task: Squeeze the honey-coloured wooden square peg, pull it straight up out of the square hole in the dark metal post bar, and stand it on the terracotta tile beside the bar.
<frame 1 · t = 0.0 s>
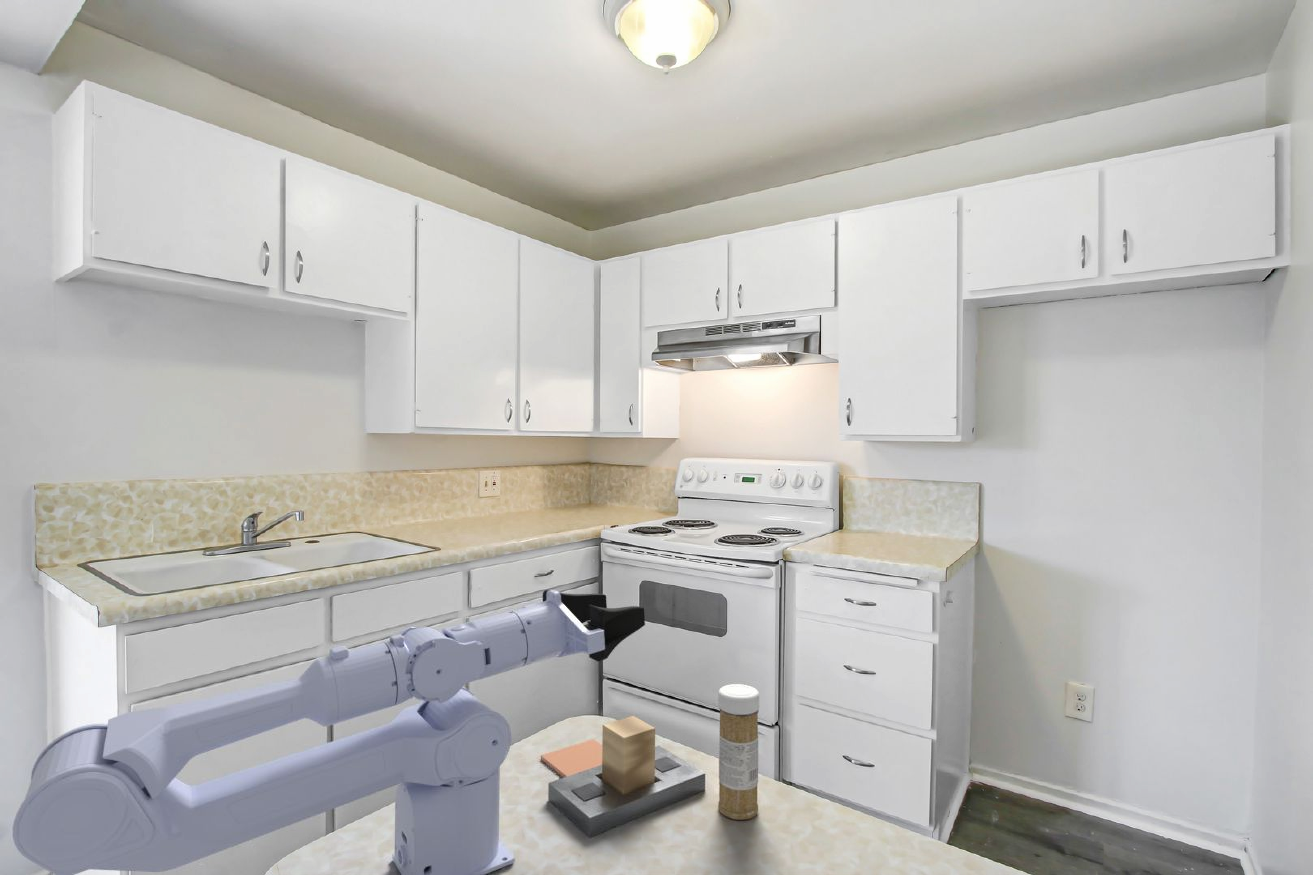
hand: (623, 609, 77), 22 cm above the countertop, tool horizontal, fingers open, 7 cm apart
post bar: (628, 794, 77), on the countertop
wooden peg: (628, 795, 77), resting in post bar
sprinkles bottle: (737, 812, 74), on the countertop
tile: (583, 762, 85), on the countertop
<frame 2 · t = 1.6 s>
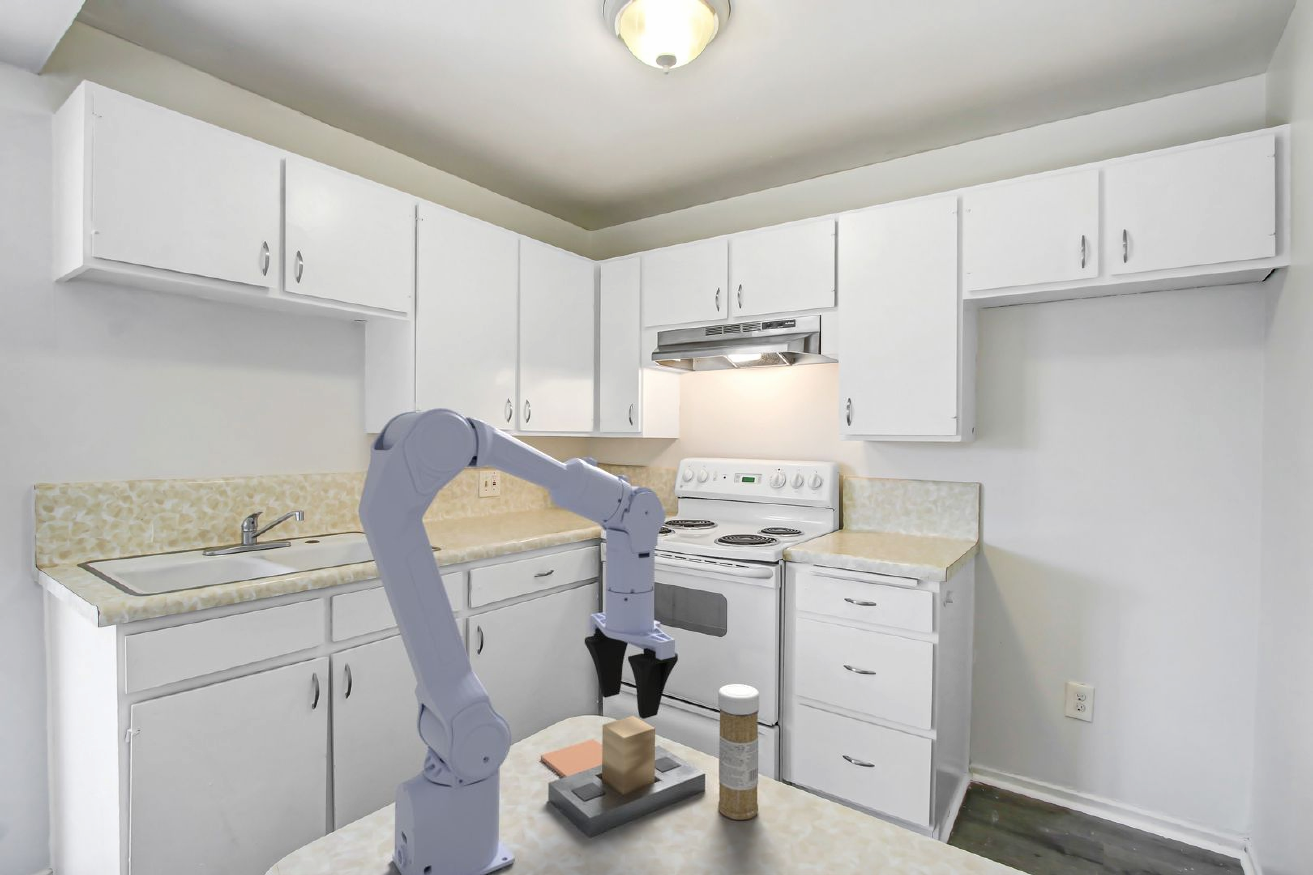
hand: (628, 705, 77), 10 cm above the countertop, tool pointing down, fingers open, 7 cm apart
nothing on the countertop moved.
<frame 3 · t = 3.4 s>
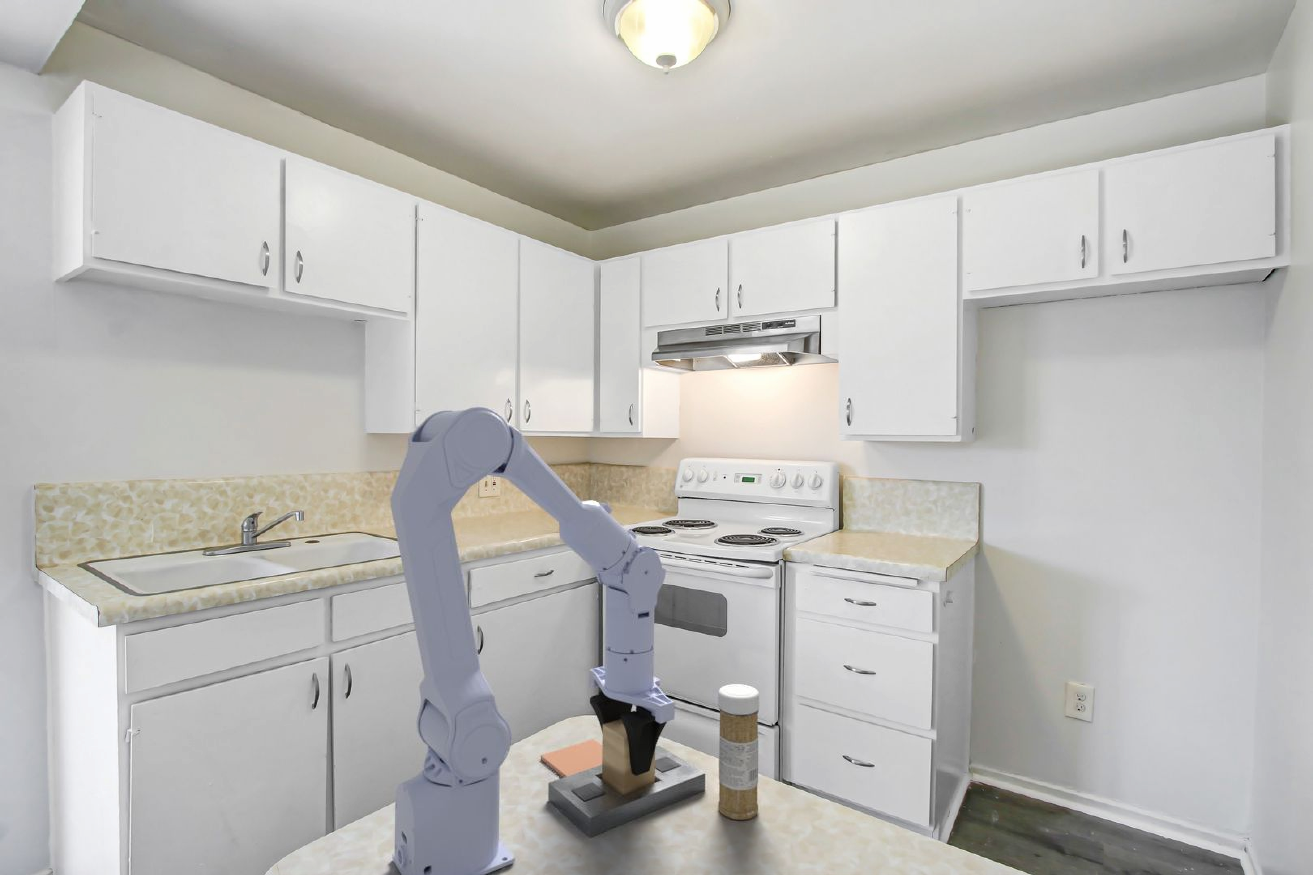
hand: (628, 763, 77), 4 cm above the countertop, tool pointing down, fingers closed on wooden peg, 4 cm apart
wooden peg: (628, 795, 77), resting in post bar, touching gripper
everything else where it was.
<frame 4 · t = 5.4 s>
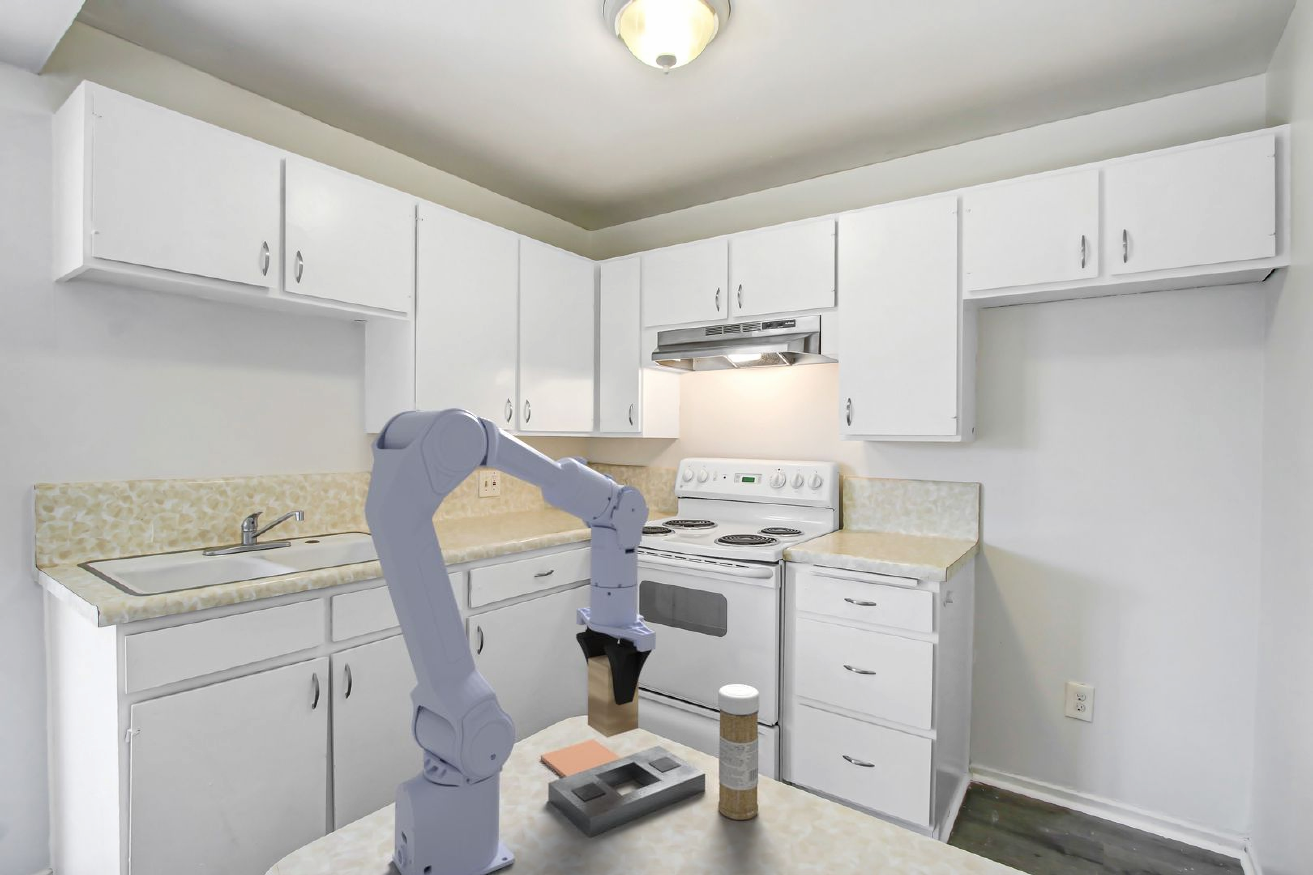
hand: (612, 696, 80), 10 cm above the countertop, tool pointing down, fingers closed on wooden peg, 4 cm apart
wooden peg: (612, 726, 80), point 7 cm above the countertop, touching gripper
everything else where it was.
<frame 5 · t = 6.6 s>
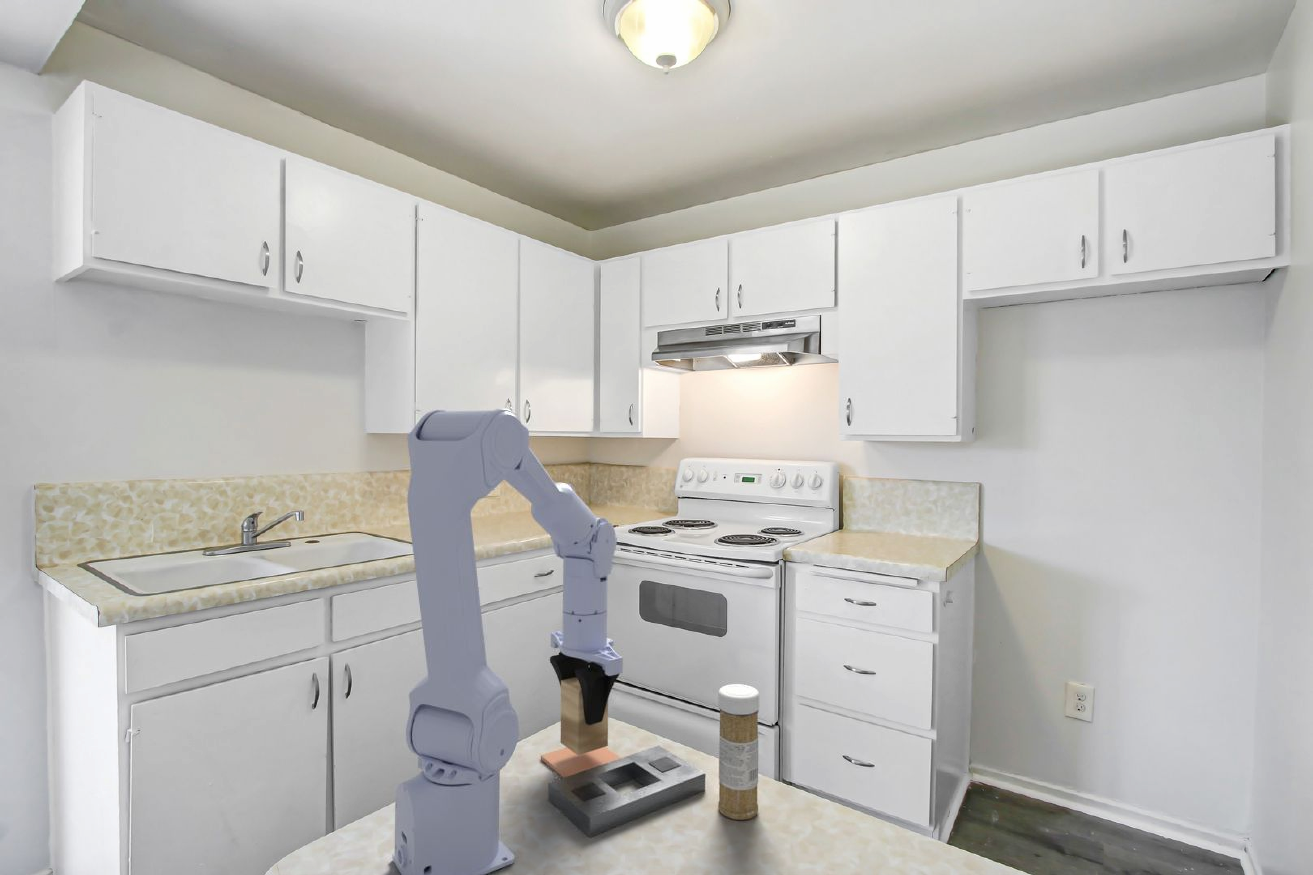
hand: (583, 715, 85), 6 cm above the countertop, tool pointing down, fingers closed on wooden peg, 4 cm apart
wooden peg: (584, 744, 85), point 2 cm above the countertop, touching gripper
everything else where it was.
when the fingers open (5 cm above the countertop, at t = 7.6 s): wooden peg drops 1 cm, resting on tile.
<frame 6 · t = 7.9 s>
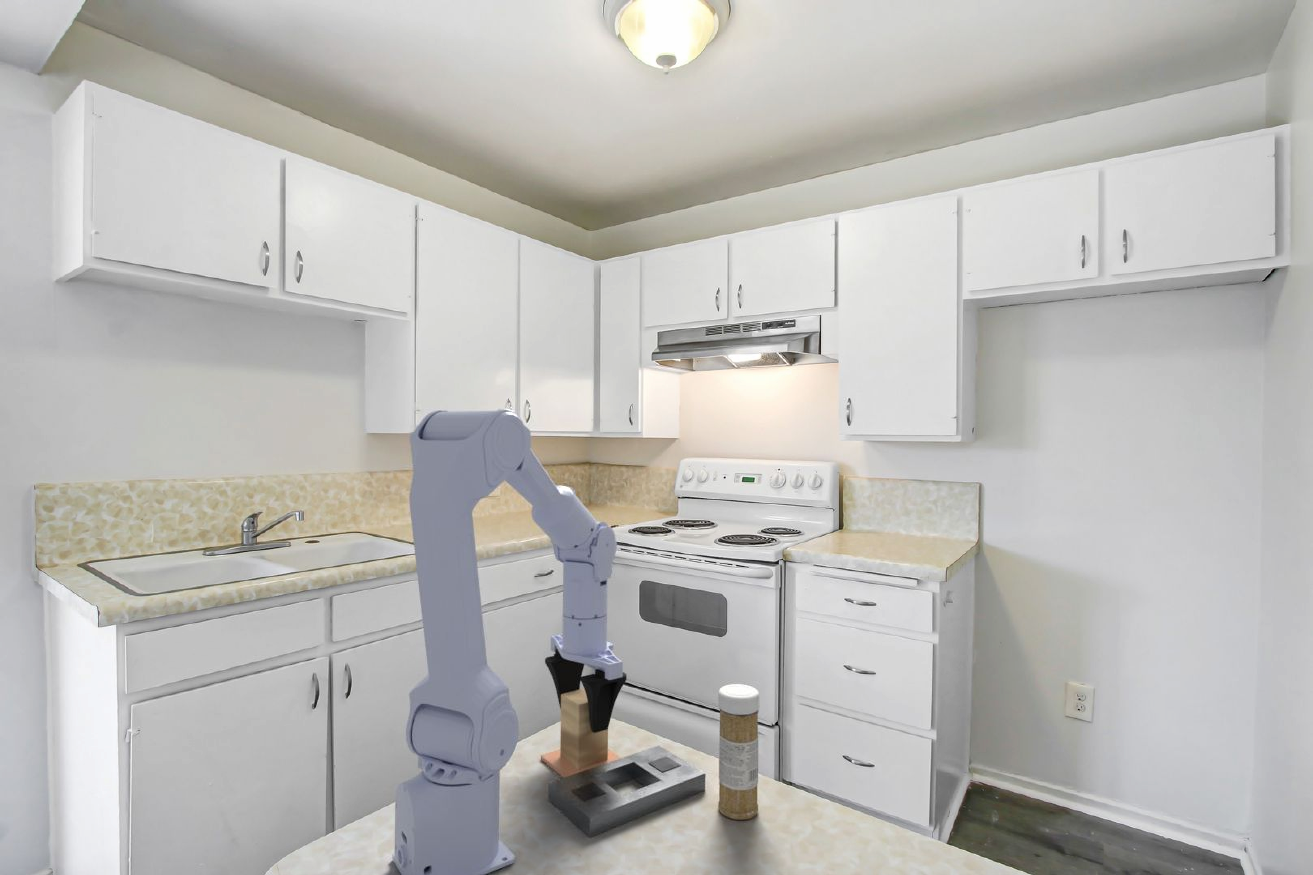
hand: (583, 719, 85), 5 cm above the countertop, tool pointing down, fingers open, 7 cm apart
wooden peg: (583, 757, 85), resting on tile
everything else where it was.
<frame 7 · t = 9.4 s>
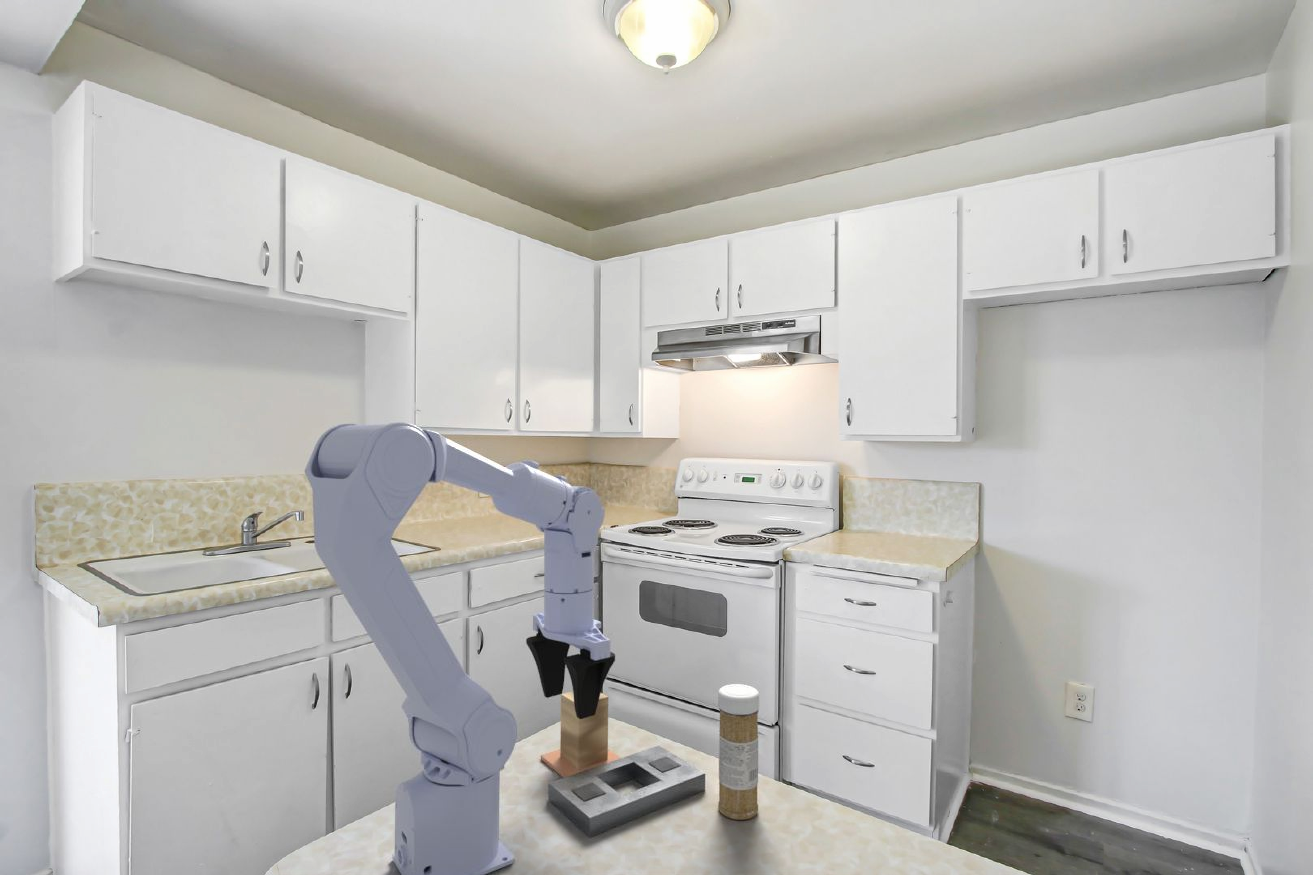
hand: (569, 705, 77), 10 cm above the countertop, tool pointing down, fingers open, 7 cm apart
nothing on the countertop moved.
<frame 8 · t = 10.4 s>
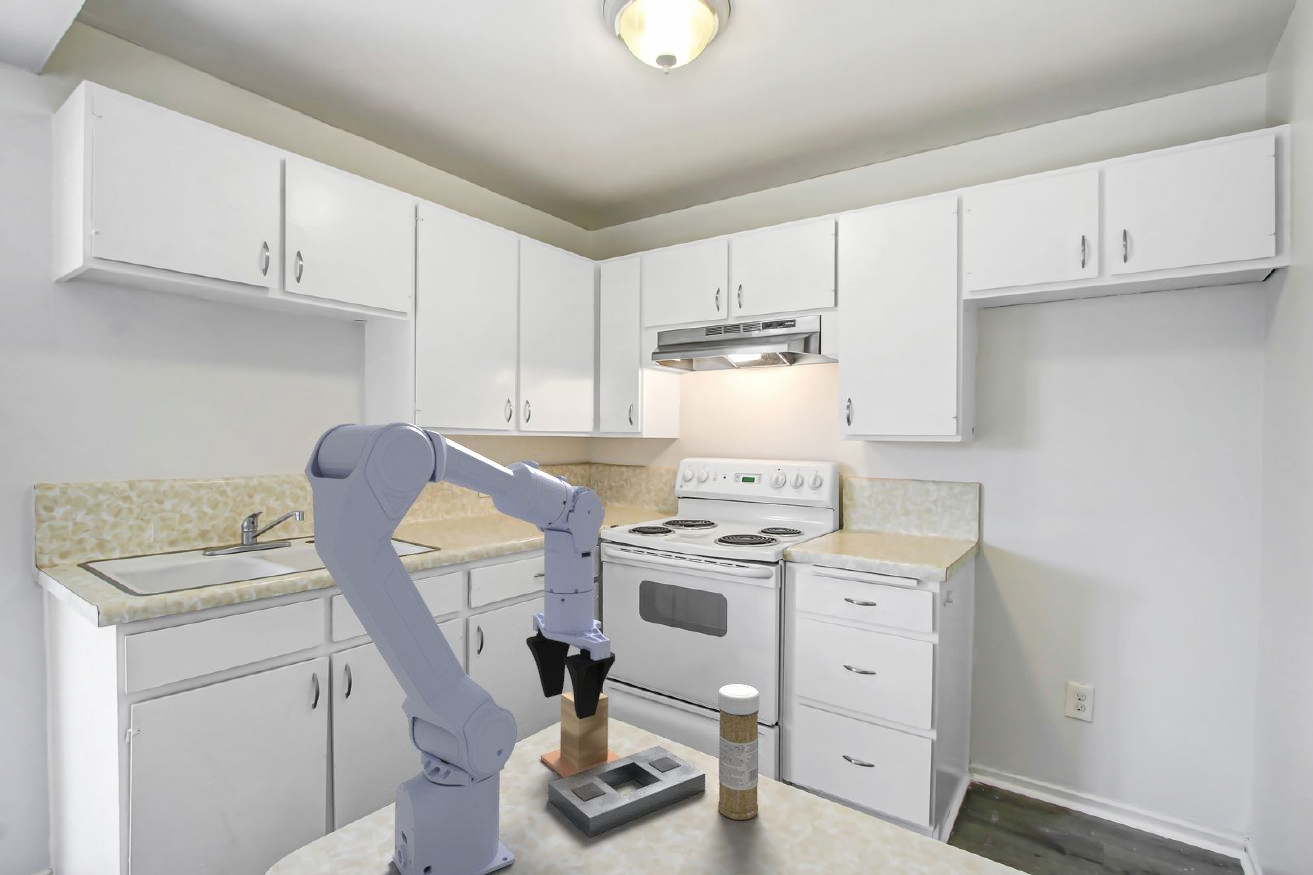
hand: (569, 705, 77), 10 cm above the countertop, tool pointing down, fingers open, 7 cm apart
nothing on the countertop moved.
at the end: wooden peg 0.1 cm off-centre on the tile, point 0.5 cm above the tile's base; wooden peg tilted 0°; the gripper is holding nothing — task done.
